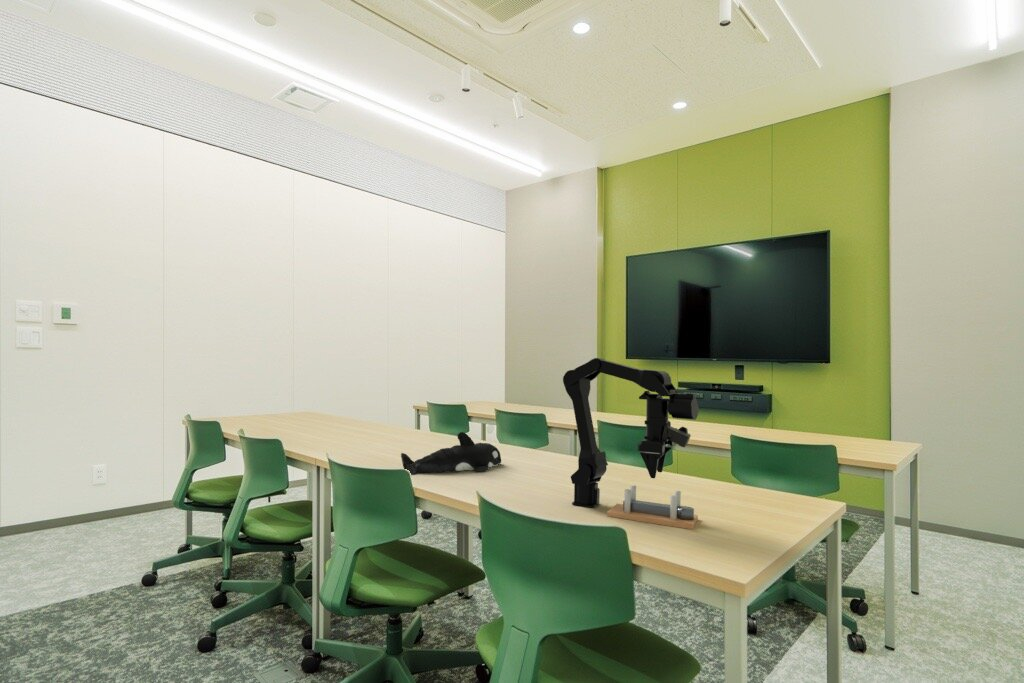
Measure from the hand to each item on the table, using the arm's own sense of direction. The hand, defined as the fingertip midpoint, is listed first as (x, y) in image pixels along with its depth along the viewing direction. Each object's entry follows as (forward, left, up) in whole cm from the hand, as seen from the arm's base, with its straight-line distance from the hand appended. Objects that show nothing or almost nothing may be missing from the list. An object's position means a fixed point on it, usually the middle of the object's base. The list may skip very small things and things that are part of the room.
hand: (656, 475), depth 142 cm
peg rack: (-1, 0, -11) cm, 11 cm away
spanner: (+1, 0, -10) cm, 10 cm away
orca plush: (-82, +29, -12) cm, 88 cm away
